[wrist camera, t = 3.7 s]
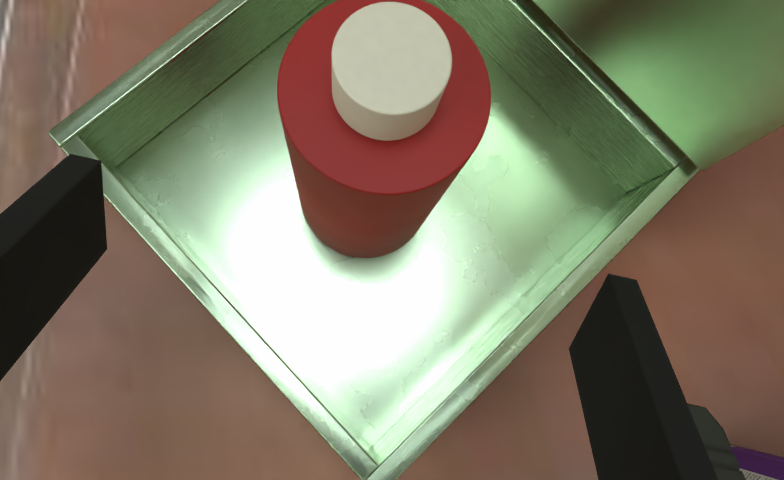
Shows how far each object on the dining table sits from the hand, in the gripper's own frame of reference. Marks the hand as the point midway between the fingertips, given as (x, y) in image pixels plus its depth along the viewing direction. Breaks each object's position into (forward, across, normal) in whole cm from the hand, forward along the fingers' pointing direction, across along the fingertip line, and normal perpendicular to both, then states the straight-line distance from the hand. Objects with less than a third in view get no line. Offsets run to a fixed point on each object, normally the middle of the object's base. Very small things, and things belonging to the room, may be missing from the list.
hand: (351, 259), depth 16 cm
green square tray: (+13, 0, -5) cm, 14 cm away
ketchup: (+12, 0, -5) cm, 13 cm away
